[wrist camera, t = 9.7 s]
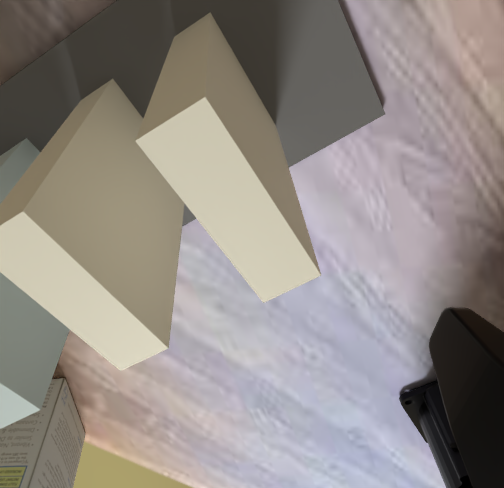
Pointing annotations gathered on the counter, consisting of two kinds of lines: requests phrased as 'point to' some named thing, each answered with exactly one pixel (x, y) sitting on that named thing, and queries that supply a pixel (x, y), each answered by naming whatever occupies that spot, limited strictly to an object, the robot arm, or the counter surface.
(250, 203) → the domino
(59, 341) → the domino
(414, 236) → the counter surface
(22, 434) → the light bulb box
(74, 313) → the domino
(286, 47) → the mat
